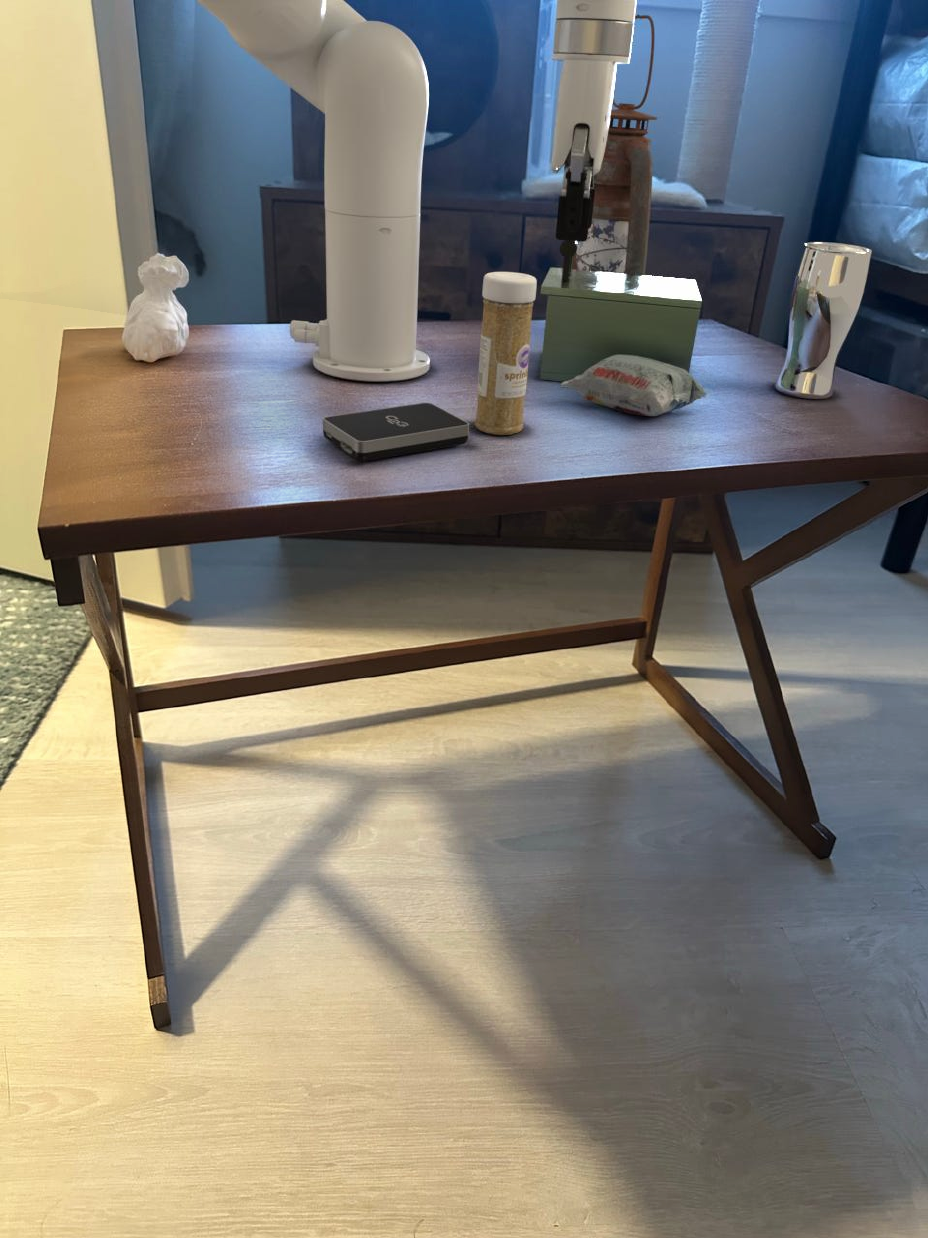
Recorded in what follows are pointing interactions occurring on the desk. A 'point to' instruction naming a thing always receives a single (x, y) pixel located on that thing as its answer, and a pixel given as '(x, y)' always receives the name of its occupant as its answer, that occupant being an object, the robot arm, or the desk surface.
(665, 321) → the waste bin
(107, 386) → the desk surface
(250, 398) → the desk surface
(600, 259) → the lantern
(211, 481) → the desk surface
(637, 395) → the packaged food
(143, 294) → the white tied sack
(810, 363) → the beer glass
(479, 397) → the sprinkles bottle
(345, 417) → the external hard drive
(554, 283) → the bin lid
